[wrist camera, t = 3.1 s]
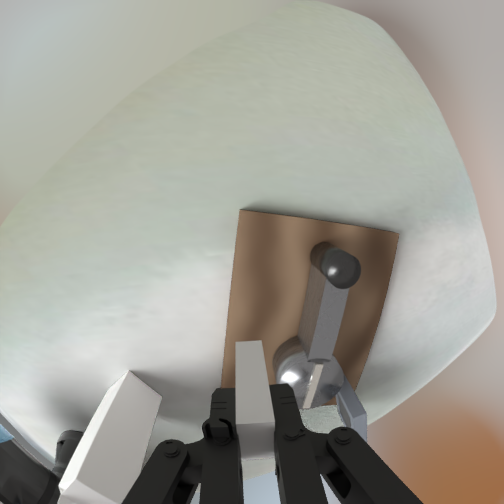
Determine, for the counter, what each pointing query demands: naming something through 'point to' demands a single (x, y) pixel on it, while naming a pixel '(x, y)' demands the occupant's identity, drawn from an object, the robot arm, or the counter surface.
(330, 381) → the crank handle
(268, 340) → the stand board
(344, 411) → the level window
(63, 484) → the milk
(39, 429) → the counter surface
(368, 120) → the counter surface
